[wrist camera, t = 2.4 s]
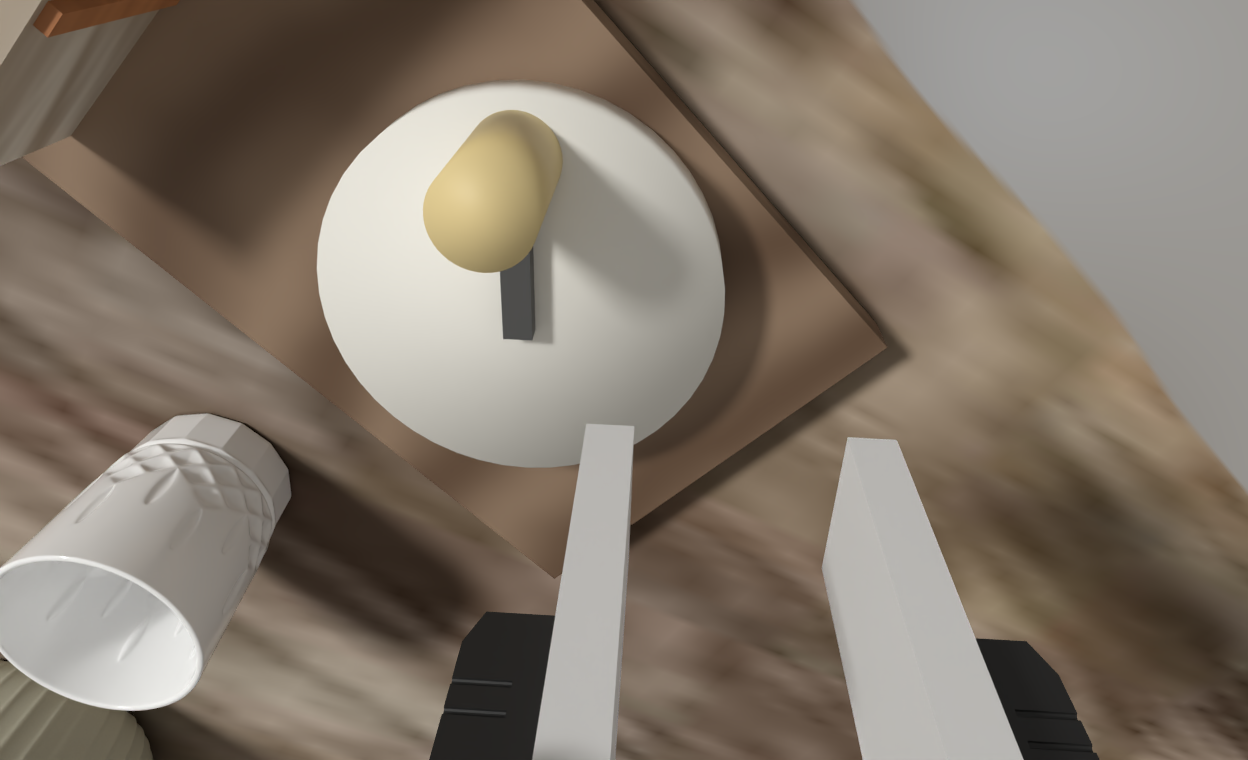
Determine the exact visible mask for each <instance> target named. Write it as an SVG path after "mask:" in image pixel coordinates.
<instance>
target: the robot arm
mask: <svg viewBox="0 0 1248 760" xmlns="http://www.w3.org/2000/svg"><path fill="white" fill-rule="evenodd" d="M633 447H634V426H622V425H604V424H586V429H585V435H584V441H583V447H582V454H581V460H580V466H579V472H578V478H577V485H576V491H575V497H574V503H573V509H572V516H571V522H570V528H569V534H568V541H567V547H566V553H565V559H564V565H563V572H562V578H561V584H560V590H559V596H558V603H557V609H556V615H555V616H550V615H533V614H517V613H500V612H486V613H485V614H484V615H483V617H482V618H481V619H480V620H479V621H478V623H477V624H476V625H475V626H474V628H473V629H472V630H471V631H470V632H469V634H468V635H467V636H466V637H465V639H464V640H463V641H462V644H461V648H460V651H459V655H458V658H457V662H456V666H455V669H454V673H453V676H452V684H450V687H449V691H448V694H447V698H446V701H445V705H444V713H443V714H442V716H441V719H440V723H439V727H438V730H437V734H436V737H435V741H434V745H433V748H432V752H431V755H430V759H429V760H615V755H616V740H617V725H618V711H619V696H620V681H621V666H622V651H623V636H624V621H625V606H626V591H627V576H628V561H629V540H630V517H631V493H632V470H633ZM822 571H823V576H824V580H825V585H826V590H827V594H828V599H829V604H830V608H831V613H832V618H833V622H834V627H835V632H836V636H837V641H838V646H839V650H840V655H841V659H842V664H843V669H844V673H845V678H846V683H847V687H848V692H849V697H850V701H851V706H852V711H853V715H854V720H855V725H856V729H857V734H858V739H859V743H860V748H861V753H862V757H863V760H1099V758H1098V755H1097V753H1093V751H1092V743H1091V741H1090V739H1089V737H1088V735H1087V733H1086V731H1085V729H1084V726H1083V724H1082V722H1081V721H1078V720H1077V712H1076V710H1075V708H1074V706H1073V704H1072V702H1071V700H1070V698H1069V695H1068V693H1067V691H1066V689H1065V687H1064V685H1063V683H1062V681H1061V679H1060V677H1059V675H1058V674H1057V673H1056V672H1055V671H1054V670H1053V669H1052V668H1051V667H1050V666H1049V664H1048V663H1047V662H1046V661H1045V660H1044V659H1043V658H1042V657H1041V656H1040V655H1039V654H1038V653H1037V652H1036V651H1035V650H1034V649H1033V648H1032V647H1031V646H1030V645H1029V644H1028V643H1027V641H1010V640H993V639H976V638H975V636H974V634H973V631H972V629H971V626H970V624H969V621H968V618H967V616H966V613H965V611H964V608H963V606H962V603H961V601H960V598H959V596H958V593H957V591H956V588H955V586H954V583H953V581H952V578H951V576H950V573H949V571H948V568H947V566H946V563H945V561H944V558H943V555H942V553H941V550H940V548H939V545H938V543H937V540H936V538H935V535H934V533H933V530H932V528H931V525H930V523H929V520H928V518H927V515H926V513H925V510H924V508H923V505H922V503H921V500H920V498H919V495H918V492H917V490H916V487H915V485H914V482H913V480H912V477H911V475H910V472H909V470H908V467H907V465H906V462H905V460H904V457H903V455H902V452H901V450H900V447H899V445H898V442H897V440H887V439H869V438H850V437H848V439H847V444H846V449H845V454H844V459H843V464H842V469H841V474H840V479H839V484H838V489H837V494H836V499H835V504H834V509H833V514H832V519H831V524H830V529H829V534H828V539H827V544H826V550H825V555H824V560H823V565H822Z"/></svg>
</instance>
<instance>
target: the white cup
mask: <svg viewBox="0 0 1248 760" xmlns="http://www.w3.org/2000/svg"><path fill="white" fill-rule="evenodd" d="M290 498H291V487H290V479H289V471H288V468H287V467H286V465H285V464H284V462H283V461H282V459H281V458H280V456H279V455H278V453H277V452H276V450H275V449H274V447H273V446H272V444H271V443H270V442H268V441H267V440H265V439H264V438H262V437H261V436H260V435H258V434H257V433H255V432H254V431H253V430H251V429H250V428H248V427H247V426H245V425H244V424H242V423H240V422H236V421H233V420H230V419H226V418H223V417H219V416H216V415H213V414H209V413H205V414H193V415H180V416H175V417H173V418H172V419H170V420H168V421H167V422H165V423H164V424H162V425H161V426H159V427H157V428H156V429H154V430H153V431H151V432H150V433H149V434H148V435H147V436H146V437H145V438H144V439H143V440H142V441H141V442H140V443H139V444H138V445H137V446H136V447H135V448H134V449H132V450H131V451H130V452H129V453H127V454H125V455H124V456H122V457H121V458H120V459H119V460H117V461H116V462H115V463H114V464H113V465H112V466H111V467H109V468H108V469H107V470H106V471H105V472H104V473H103V474H102V475H101V476H99V477H98V478H97V479H96V480H95V481H93V482H92V483H91V484H90V485H89V486H88V487H86V488H85V489H84V490H83V491H82V492H81V493H80V494H79V495H78V496H77V497H76V498H75V499H73V500H72V501H71V502H70V503H69V504H68V505H67V506H66V507H65V508H64V509H63V510H62V511H61V512H60V513H59V514H57V515H56V516H55V517H54V518H53V519H52V520H51V521H50V522H49V523H48V524H47V525H46V526H45V527H44V528H42V529H41V530H40V531H39V532H38V533H37V534H36V535H35V536H34V537H33V538H32V539H31V540H30V541H29V542H27V543H26V544H25V545H24V546H23V547H22V548H21V549H20V550H19V551H18V552H17V553H15V554H14V555H13V556H12V557H11V558H10V559H9V560H8V561H7V562H6V563H5V564H4V565H2V566H1V567H0V652H1V653H2V655H3V656H4V657H5V658H6V659H7V660H8V661H9V662H10V663H11V664H12V665H14V666H15V667H16V668H17V669H18V670H19V671H21V672H22V673H23V674H25V675H26V676H27V677H29V678H30V679H32V680H33V681H35V682H37V683H38V684H40V685H42V686H43V687H45V688H47V689H49V690H51V691H53V692H55V693H57V694H59V695H62V696H64V697H66V698H69V699H72V700H74V701H77V702H81V703H84V704H87V705H91V706H95V707H100V708H105V709H112V710H122V711H141V710H150V709H156V708H160V707H164V706H167V705H170V704H172V703H174V702H176V701H178V700H180V699H182V698H183V697H185V696H186V695H187V694H188V693H190V692H191V691H192V690H193V688H194V687H195V686H196V684H197V683H198V681H199V679H200V678H201V676H202V674H203V672H204V670H205V668H206V666H207V664H208V662H209V660H210V658H211V657H212V655H213V653H214V651H215V649H216V647H217V645H218V643H219V641H220V639H221V638H222V636H223V634H224V632H225V630H226V628H227V626H228V624H229V623H230V621H231V619H232V617H233V615H234V613H235V611H236V609H237V607H238V605H239V603H240V601H241V599H242V598H243V596H244V594H245V592H246V590H247V588H248V586H249V584H250V583H251V581H252V579H253V577H254V575H255V574H256V572H257V569H258V567H259V565H260V562H261V560H262V558H263V556H264V554H265V552H266V551H267V549H268V546H269V541H270V538H271V535H272V533H273V531H274V528H275V526H276V525H277V523H278V521H279V519H280V517H281V515H282V513H283V511H284V510H285V508H286V506H287V504H288V502H289V500H290Z"/></svg>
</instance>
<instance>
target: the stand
mask: <svg viewBox="0 0 1248 760" xmlns="http://www.w3.org/2000/svg"><path fill="white" fill-rule="evenodd" d="M521 79H523V80H533V81H542V82H551V83H555V84H559V85H563V86H567V87H571V88H575V89H579V90H582V91H584V92H587V93H589V94H592V95H594V96H597V97H599V98H602V99H605V100H607V101H608V102H610V103H612V104H614V105H616V106H617V107H619V108H621V109H623V110H625V111H626V112H628V113H630V114H631V115H633V116H634V117H636V118H637V119H638V120H640V121H641V122H642V123H644V124H645V125H646V126H648V127H649V128H650V129H652V130H653V131H654V132H655V133H656V134H657V135H658V136H659V137H660V138H661V139H662V140H663V141H664V142H665V143H666V144H668V145H669V146H670V147H671V148H672V149H673V150H674V152H675V153H676V154H677V156H678V157H679V158H680V159H681V161H682V162H683V163H684V164H685V166H686V167H687V168H688V169H689V171H690V172H691V174H692V176H693V177H694V179H695V181H696V183H697V184H698V186H699V188H700V189H701V191H702V193H703V195H704V197H705V200H706V202H707V204H708V207H709V209H710V211H711V214H712V216H713V219H714V223H715V227H716V231H717V235H718V238H719V243H720V251H721V259H722V268H723V276H724V284H725V307H724V318H723V324H722V329H721V335H720V339H719V342H718V345H717V348H716V351H715V354H714V357H713V360H712V362H711V364H710V366H709V368H708V370H707V372H706V374H705V376H704V378H703V380H702V382H701V383H700V384H699V386H698V387H697V389H696V390H695V392H694V393H693V395H692V396H691V398H690V399H689V400H688V401H687V402H686V403H685V405H684V406H683V407H682V408H681V409H680V410H679V411H678V412H677V413H676V414H675V416H673V417H672V418H671V419H670V420H669V421H667V422H666V423H665V424H664V425H663V426H662V427H660V428H659V429H658V430H657V431H655V432H654V433H652V434H651V435H649V436H648V437H646V438H644V439H643V440H641V441H640V442H638V443H636V444H634V447H633V470H632V493H631V517H630V526H631V525H632V524H634V523H635V522H637V521H638V520H640V519H641V518H642V517H644V516H645V515H647V514H648V513H650V512H651V511H653V510H654V509H655V508H657V507H658V506H660V505H661V504H663V503H664V502H665V501H667V500H668V499H670V498H671V497H673V496H674V495H676V494H677V493H678V492H680V491H681V490H683V489H684V488H686V487H687V486H689V485H690V484H691V483H693V482H694V481H696V480H697V479H699V478H700V477H702V476H703V475H704V474H706V473H707V472H709V471H710V470H712V469H713V468H714V467H716V466H717V465H719V464H720V463H722V462H723V461H725V460H726V459H727V458H729V457H730V456H732V455H733V454H735V453H736V452H738V451H739V450H740V449H742V448H743V447H745V446H746V445H748V444H749V443H751V442H752V441H753V440H755V439H756V438H758V437H759V436H761V435H762V434H763V433H765V432H766V431H768V430H769V429H771V428H772V427H774V426H775V425H776V424H778V423H779V422H781V421H782V420H784V419H785V418H787V417H788V416H789V415H791V414H792V413H794V412H795V411H797V410H798V409H799V408H801V407H802V406H804V405H805V404H807V403H808V402H810V401H811V400H812V399H814V398H815V397H817V396H818V395H820V394H821V393H823V392H824V391H825V390H827V389H828V388H830V387H831V386H833V385H834V384H836V383H837V382H838V381H840V380H841V379H843V378H844V377H846V376H847V375H848V374H850V373H851V372H853V371H854V370H856V369H857V368H859V367H860V366H861V365H863V364H864V363H866V362H867V361H869V360H870V359H872V358H873V357H874V356H876V355H877V354H879V353H880V352H882V351H883V350H885V349H886V348H887V345H886V343H885V341H884V339H883V337H882V334H881V332H880V330H879V328H878V326H877V323H876V322H875V321H874V320H873V319H872V318H871V317H870V315H869V314H868V313H867V312H866V311H865V310H864V309H863V307H862V306H861V305H860V304H859V303H858V302H857V301H856V299H855V298H854V297H853V296H852V295H851V294H850V293H849V291H848V290H847V289H846V288H845V287H844V286H843V285H842V283H841V282H840V281H839V280H838V279H837V278H836V277H835V275H834V274H833V273H832V272H831V271H830V270H829V269H828V267H827V266H826V265H825V264H824V263H823V262H822V261H821V259H820V258H819V257H818V256H817V255H816V254H815V253H814V251H813V250H812V249H811V248H810V247H809V246H808V245H807V243H806V242H805V241H804V240H803V239H802V238H801V237H800V235H799V234H798V233H797V232H796V231H795V230H794V229H793V227H792V226H791V225H790V224H789V223H788V222H787V221H786V219H785V218H784V217H783V216H782V215H781V214H780V213H779V211H778V210H777V209H776V208H775V207H774V206H773V205H772V203H771V202H770V201H769V200H768V199H767V198H766V197H765V195H764V194H763V193H762V192H761V191H760V190H759V189H758V187H757V186H756V185H755V184H754V183H753V182H752V181H751V179H750V178H749V177H748V176H747V175H746V174H745V173H744V171H743V170H742V169H741V168H740V167H739V166H738V165H737V163H736V162H735V161H734V160H733V159H732V158H731V157H730V155H729V154H728V153H727V152H726V151H725V150H724V149H723V147H722V146H721V145H720V144H719V143H718V142H717V141H716V139H715V138H714V137H713V136H712V135H711V134H710V133H709V131H708V130H707V129H706V128H705V127H704V126H703V125H702V123H701V122H700V121H699V120H698V119H697V118H696V117H695V115H694V114H693V113H692V112H691V111H690V110H689V109H688V107H687V106H686V105H685V104H684V103H683V102H682V101H681V99H680V98H679V97H678V96H677V95H676V94H675V93H674V91H673V90H672V89H671V88H670V87H669V86H668V85H667V83H666V82H665V81H664V80H663V79H662V78H661V77H660V75H659V74H658V73H657V72H656V71H655V70H654V69H653V68H652V66H651V65H650V64H649V63H648V62H647V61H646V60H645V58H644V57H643V56H642V55H641V54H640V53H639V52H638V50H637V49H636V48H635V47H634V46H633V45H632V44H631V42H630V41H629V40H628V39H627V38H626V37H625V36H624V34H623V33H622V32H621V31H620V30H619V29H618V28H617V26H616V25H615V24H614V23H613V22H612V21H611V20H610V18H609V17H608V16H607V15H606V14H605V13H604V12H603V10H602V9H601V8H600V7H599V6H598V5H597V4H596V2H595V1H594V0H0V166H1V165H4V164H6V163H8V162H11V161H13V160H15V159H18V158H20V157H22V158H24V159H25V160H26V161H28V162H29V163H30V164H31V165H33V166H34V167H35V168H36V169H38V170H39V171H40V172H41V173H43V174H44V175H45V176H46V177H48V178H49V179H50V180H52V181H53V182H54V183H55V184H57V185H58V186H59V187H60V188H62V189H63V190H64V191H65V192H67V193H68V194H69V195H70V196H72V197H73V198H74V199H76V200H77V201H78V202H79V203H81V204H82V205H83V206H84V207H86V208H87V209H88V210H89V211H91V212H92V213H93V214H94V215H96V216H97V217H98V218H100V219H101V220H102V221H103V222H105V223H106V224H107V225H108V226H110V227H111V228H112V229H113V230H115V231H116V232H117V233H118V234H120V235H121V236H122V237H124V238H125V239H126V240H127V241H129V242H130V243H131V244H132V245H134V246H135V247H136V248H137V249H139V250H140V251H141V252H142V253H144V254H145V255H146V256H148V257H149V258H150V259H151V260H153V261H154V262H155V263H156V264H158V265H159V266H160V267H161V268H163V269H164V270H165V271H166V272H168V273H169V274H170V275H172V276H173V277H174V278H175V279H177V280H178V281H179V282H180V283H182V284H183V285H184V286H185V287H187V288H188V289H189V290H190V291H192V292H193V293H194V294H196V295H197V296H198V297H199V298H201V299H202V300H203V301H204V302H206V303H207V304H208V305H209V306H211V307H212V308H213V309H214V310H216V311H217V312H218V313H219V314H221V315H222V316H223V317H225V318H226V319H227V320H228V321H230V322H231V323H232V324H233V325H235V326H236V327H237V328H238V329H240V330H241V331H242V332H243V333H245V334H246V335H247V336H249V337H250V338H251V339H252V340H254V341H255V342H256V343H257V344H259V345H260V346H261V347H262V348H264V349H265V350H266V351H267V352H269V353H270V354H271V355H273V356H274V357H275V358H276V359H278V360H279V361H280V362H281V363H283V364H284V365H285V366H286V367H288V368H289V369H290V370H291V371H293V372H294V373H295V374H297V375H298V376H299V377H300V378H302V379H303V380H304V381H305V382H307V383H308V384H309V385H310V386H312V387H313V388H314V389H315V390H317V391H318V392H319V393H321V394H322V395H323V396H324V397H326V398H327V399H328V400H329V401H331V402H332V403H333V404H334V405H336V406H337V407H338V408H339V409H341V410H342V411H343V412H345V413H346V414H347V415H348V416H350V417H351V418H352V419H353V420H355V421H356V422H357V423H358V424H360V425H361V426H362V427H363V428H365V429H366V430H367V431H369V432H370V433H371V434H372V435H374V436H375V437H376V438H377V439H379V440H380V441H381V442H382V443H384V444H385V445H386V446H387V447H389V448H390V449H391V450H393V451H394V452H395V453H396V454H398V455H399V456H400V457H401V458H403V459H404V460H405V461H406V462H408V463H409V464H410V465H411V466H413V467H414V468H415V469H417V470H418V471H419V472H420V473H422V474H423V475H424V476H425V477H427V478H428V479H429V480H430V481H432V482H433V483H434V484H435V485H437V486H438V487H439V488H441V489H442V490H443V491H444V492H446V493H447V494H448V495H449V496H451V497H452V498H453V499H454V500H456V501H457V502H458V503H459V504H461V505H462V506H463V507H465V508H466V509H467V510H468V511H470V512H471V513H472V514H473V515H475V516H476V517H477V518H478V519H480V520H481V521H482V522H483V523H485V524H486V525H487V526H489V527H490V528H491V529H492V530H494V531H495V532H496V533H497V534H499V535H500V536H501V537H502V538H504V539H505V540H506V541H507V542H509V543H510V544H511V545H513V546H514V547H515V548H516V549H518V550H519V551H520V552H521V553H523V554H524V555H525V556H526V557H528V558H529V559H530V560H531V561H533V562H534V563H535V564H537V565H538V566H539V567H540V568H542V569H543V570H544V571H545V572H547V573H548V574H549V575H550V576H552V577H553V578H554V579H555V578H556V577H557V576H559V575H560V574H562V572H563V565H564V559H565V553H566V547H567V541H568V534H569V528H570V522H571V516H572V509H573V503H574V497H575V491H576V485H577V478H578V472H579V466H580V464H576V465H569V466H560V467H551V468H526V467H516V466H507V465H500V464H496V463H491V462H486V461H482V460H478V459H475V458H472V457H468V456H465V455H462V454H459V453H456V452H454V451H452V450H449V449H447V448H445V447H443V446H440V445H438V444H436V443H434V442H432V441H430V440H429V439H427V438H425V437H423V436H422V435H420V434H418V433H416V432H415V431H413V430H412V429H410V428H409V427H407V426H406V425H405V424H403V423H402V422H401V421H399V420H398V419H396V418H395V417H394V416H393V415H391V414H390V413H389V412H388V411H387V410H386V409H385V408H384V407H383V406H381V405H380V404H379V403H378V402H377V401H376V400H375V399H374V398H373V397H372V396H371V394H370V393H369V392H368V391H367V390H366V389H365V388H364V387H363V385H362V384H361V383H360V382H359V381H358V379H357V378H356V376H355V375H354V374H353V372H352V371H351V369H350V368H349V366H348V365H347V364H346V362H345V360H344V359H343V357H342V355H341V353H340V351H339V349H338V347H337V345H336V344H335V342H334V340H333V337H332V335H331V332H330V329H329V327H328V324H327V322H326V319H325V316H324V312H323V307H322V303H321V299H320V295H319V287H318V277H317V252H318V241H319V236H320V231H321V226H322V221H323V218H324V215H325V212H326V209H327V206H328V204H329V201H330V198H331V196H332V194H333V192H334V190H335V188H336V187H337V185H338V183H339V181H340V179H341V177H342V176H343V174H344V173H345V171H346V170H347V169H348V167H349V166H350V165H351V163H352V162H353V161H354V160H355V158H356V157H357V156H358V154H359V153H360V152H361V151H362V150H363V149H364V148H365V147H367V146H368V145H369V144H370V143H371V142H372V141H373V140H374V139H375V138H376V137H377V136H378V135H379V134H380V133H382V132H383V131H384V130H385V129H386V128H387V127H388V126H390V125H391V124H392V123H393V122H394V121H395V120H397V119H398V118H399V117H401V116H402V115H404V114H405V113H407V112H408V111H410V110H411V109H412V108H414V107H415V106H417V105H418V104H420V103H422V102H424V101H427V100H429V99H431V98H433V97H435V96H437V95H439V94H441V93H443V92H447V91H450V90H453V89H456V88H459V87H462V86H465V85H469V84H475V83H481V82H487V81H493V80H521Z"/></svg>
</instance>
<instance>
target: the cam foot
mask: <svg viewBox="0 0 1248 760" xmlns="http://www.w3.org/2000/svg"><path fill="white" fill-rule="evenodd" d="M317 277H318V287H319V295H320V299H321V303H322V307H323V312H324V316H325V319H326V322H327V324H328V327H329V329H330V332H331V335H332V337H333V340H334V342H335V344H336V345H337V347H338V349H339V351H340V353H341V355H342V357H343V359H344V360H345V362H346V364H347V365H348V366H349V368H350V369H351V371H352V372H353V374H354V375H355V376H356V378H357V379H358V381H359V382H360V383H361V384H362V385H363V387H364V388H365V389H366V390H367V391H368V392H369V393H370V394H371V396H372V397H373V398H374V399H375V400H376V401H377V402H378V403H379V404H380V405H381V406H383V407H384V408H385V409H386V410H387V411H388V412H389V413H390V414H391V415H393V416H394V417H395V418H396V419H398V420H399V421H401V422H402V423H403V424H405V425H406V426H407V427H409V428H410V429H412V430H413V431H415V432H416V433H418V434H420V435H422V436H423V437H425V438H427V439H429V440H430V441H432V442H434V443H436V444H438V445H440V446H443V447H445V448H447V449H449V450H452V451H454V452H456V453H459V454H462V455H465V456H468V457H472V458H475V459H478V460H482V461H486V462H491V463H496V464H500V465H507V466H516V467H526V468H551V467H560V466H569V465H576V464H580V460H581V454H582V447H583V441H584V435H585V429H586V424H604V425H622V426H634V444H636V443H638V442H640V441H641V440H643V439H644V438H646V437H648V436H649V435H651V434H652V433H654V432H655V431H657V430H658V429H659V428H660V427H662V426H663V425H664V424H665V423H666V422H667V421H669V420H670V419H671V418H672V417H673V416H675V414H676V413H677V412H678V411H679V410H680V409H681V408H682V407H683V406H684V405H685V403H686V402H687V401H688V400H689V399H690V398H691V396H692V395H693V393H694V392H695V390H696V389H697V387H698V386H699V384H700V383H701V382H702V380H703V378H704V376H705V374H706V372H707V370H708V368H709V366H710V364H711V362H712V360H713V357H714V354H715V351H716V348H717V345H718V342H719V339H720V335H721V329H722V324H723V318H724V307H725V284H724V276H723V268H722V259H721V251H720V243H719V238H718V235H717V231H716V227H715V223H714V219H713V216H712V214H711V211H710V209H709V207H708V204H707V202H706V200H705V197H704V195H703V193H702V191H701V189H700V188H699V186H698V184H697V183H696V181H695V179H694V177H693V176H692V174H691V172H690V171H689V169H688V168H687V167H686V166H685V164H684V163H683V162H682V161H681V159H680V158H679V157H678V156H677V154H676V153H675V152H674V150H673V149H672V148H671V147H670V146H669V145H668V144H666V143H665V142H664V141H663V140H662V139H661V138H660V137H659V136H658V135H657V134H656V133H655V132H654V131H653V130H652V129H650V128H649V127H648V126H646V125H645V124H644V123H642V122H641V121H640V120H638V119H637V118H636V117H634V116H633V115H631V114H630V113H628V112H626V111H625V110H623V109H621V108H619V107H617V106H616V105H614V104H612V103H610V102H608V101H607V100H605V99H602V98H599V97H597V96H594V95H592V94H589V93H587V92H584V91H582V90H579V89H575V88H571V87H567V86H563V85H559V84H555V83H551V82H542V81H533V80H523V79H521V80H493V81H487V82H481V83H475V84H469V85H465V86H462V87H459V88H456V89H453V90H450V91H447V92H443V93H441V94H439V95H437V96H435V97H433V98H431V99H429V100H427V101H424V102H422V103H420V104H418V105H417V106H415V107H414V108H412V109H411V110H410V111H408V112H407V113H405V114H404V115H402V116H401V117H399V118H398V119H397V120H395V121H394V122H393V123H392V124H391V125H390V126H388V127H387V128H386V129H385V130H384V131H383V132H382V133H380V134H379V135H378V136H377V137H376V138H375V139H374V140H373V141H372V142H371V143H370V144H369V145H368V146H367V147H365V148H364V149H363V150H362V151H361V152H360V153H359V154H358V156H357V157H356V158H355V160H354V161H353V162H352V163H351V165H350V166H349V167H348V169H347V170H346V171H345V173H344V174H343V176H342V177H341V179H340V181H339V183H338V185H337V187H336V188H335V190H334V192H333V194H332V196H331V198H330V201H329V204H328V206H327V209H326V212H325V215H324V218H323V221H322V226H321V231H320V236H319V241H318V252H317Z"/></svg>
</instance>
